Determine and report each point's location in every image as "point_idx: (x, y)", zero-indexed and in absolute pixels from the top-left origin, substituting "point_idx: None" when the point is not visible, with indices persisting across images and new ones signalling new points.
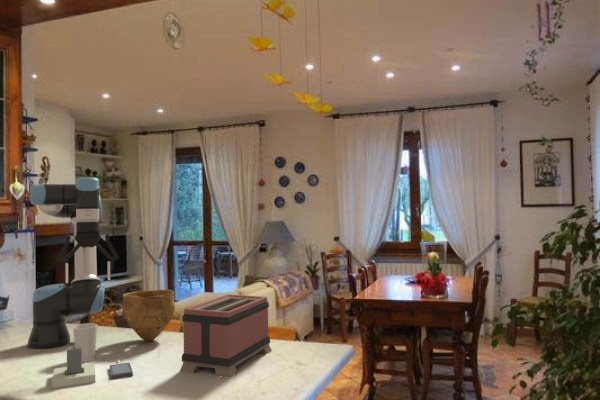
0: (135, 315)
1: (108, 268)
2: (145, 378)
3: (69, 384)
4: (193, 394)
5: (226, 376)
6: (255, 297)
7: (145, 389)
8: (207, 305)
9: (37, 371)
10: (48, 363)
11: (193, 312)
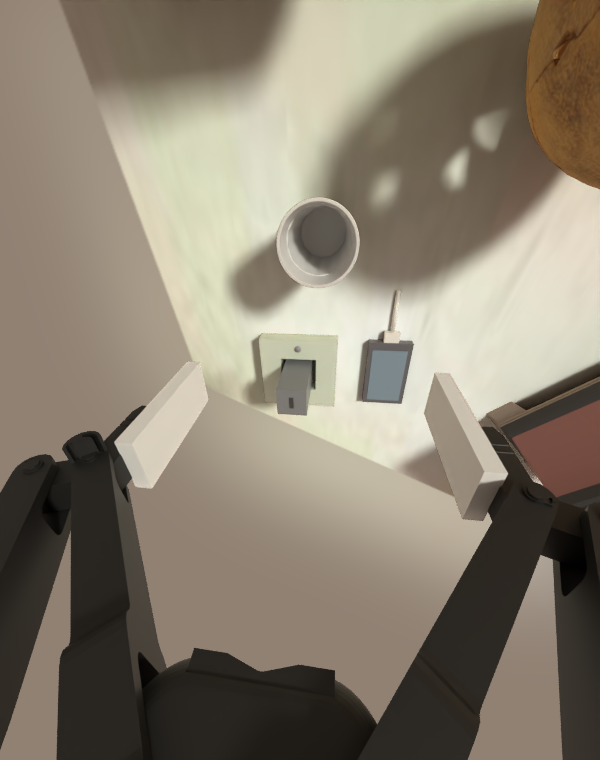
0: (552, 159)
1: (449, 472)
2: (416, 419)
3: None
4: (452, 495)
5: (534, 473)
6: None
7: (400, 456)
8: None
9: (222, 283)
10: (234, 224)
11: None
